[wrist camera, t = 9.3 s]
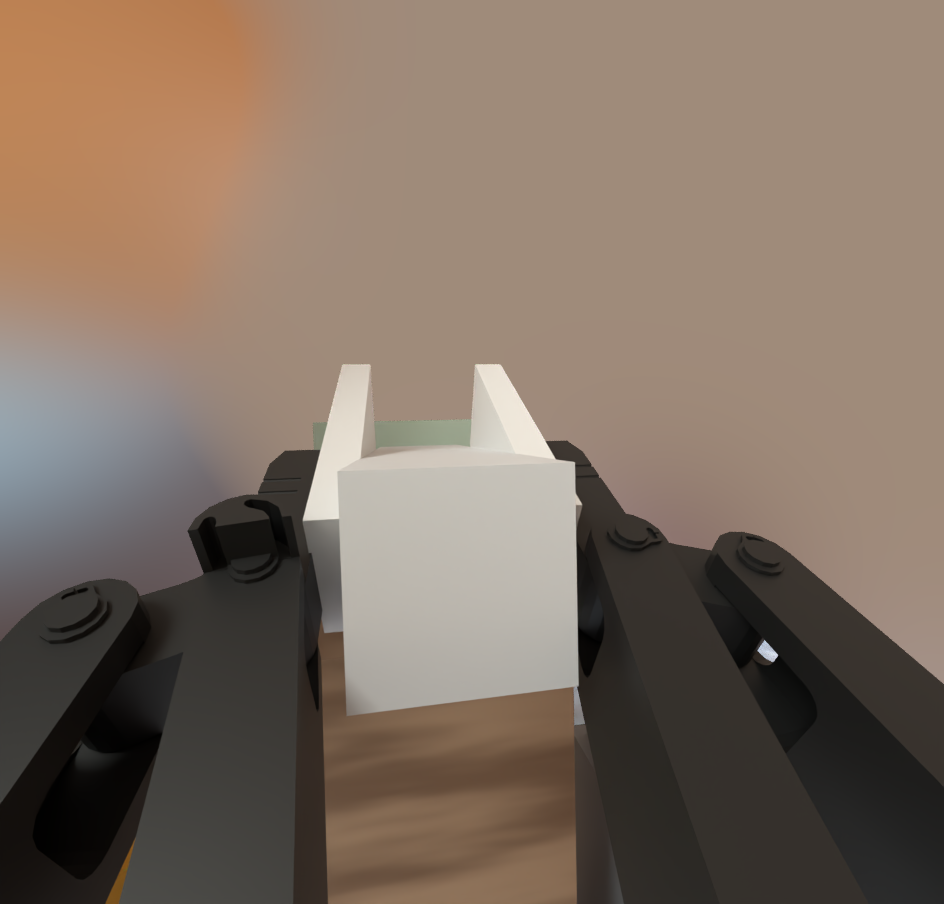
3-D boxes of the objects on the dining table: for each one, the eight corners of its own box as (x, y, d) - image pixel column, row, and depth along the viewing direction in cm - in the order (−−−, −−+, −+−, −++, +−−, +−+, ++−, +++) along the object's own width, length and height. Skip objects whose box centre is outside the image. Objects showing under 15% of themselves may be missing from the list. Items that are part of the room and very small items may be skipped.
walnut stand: (633, 1167, 22) (627, 587, 21) (208, 1302, 19) (171, 627, 18) (544, 885, 36) (537, 527, 35) (290, 936, 33) (272, 543, 31)
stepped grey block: (846, 1068, 25) (849, 718, 24) (657, 1125, 23) (654, 748, 22) (704, 866, 37) (703, 626, 36) (571, 893, 35) (567, 640, 34)
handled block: (743, 664, 6) (744, 384, 6) (118, 745, 5) (95, 388, 5) (481, 490, 26) (479, 424, 26) (343, 497, 25) (340, 427, 24)
